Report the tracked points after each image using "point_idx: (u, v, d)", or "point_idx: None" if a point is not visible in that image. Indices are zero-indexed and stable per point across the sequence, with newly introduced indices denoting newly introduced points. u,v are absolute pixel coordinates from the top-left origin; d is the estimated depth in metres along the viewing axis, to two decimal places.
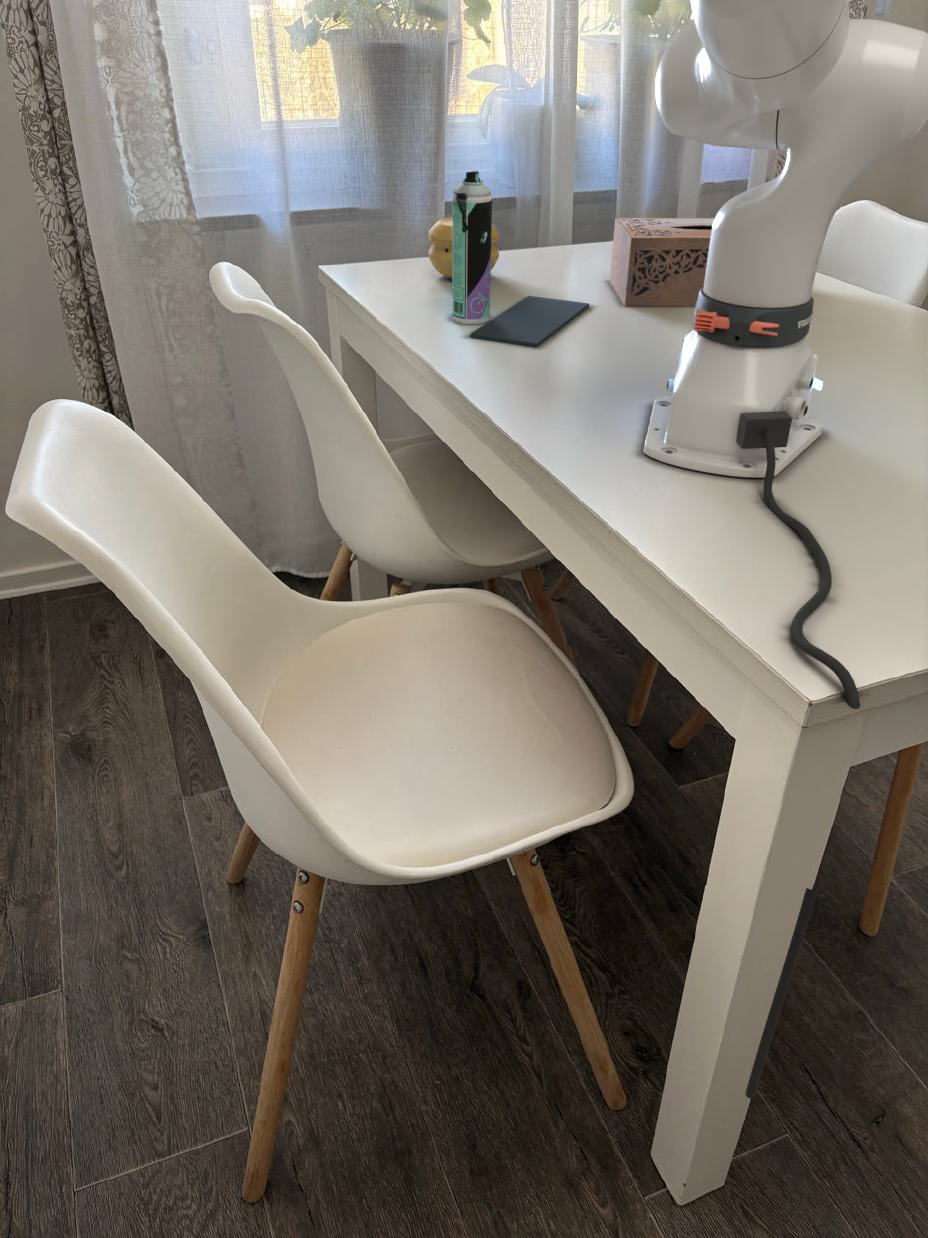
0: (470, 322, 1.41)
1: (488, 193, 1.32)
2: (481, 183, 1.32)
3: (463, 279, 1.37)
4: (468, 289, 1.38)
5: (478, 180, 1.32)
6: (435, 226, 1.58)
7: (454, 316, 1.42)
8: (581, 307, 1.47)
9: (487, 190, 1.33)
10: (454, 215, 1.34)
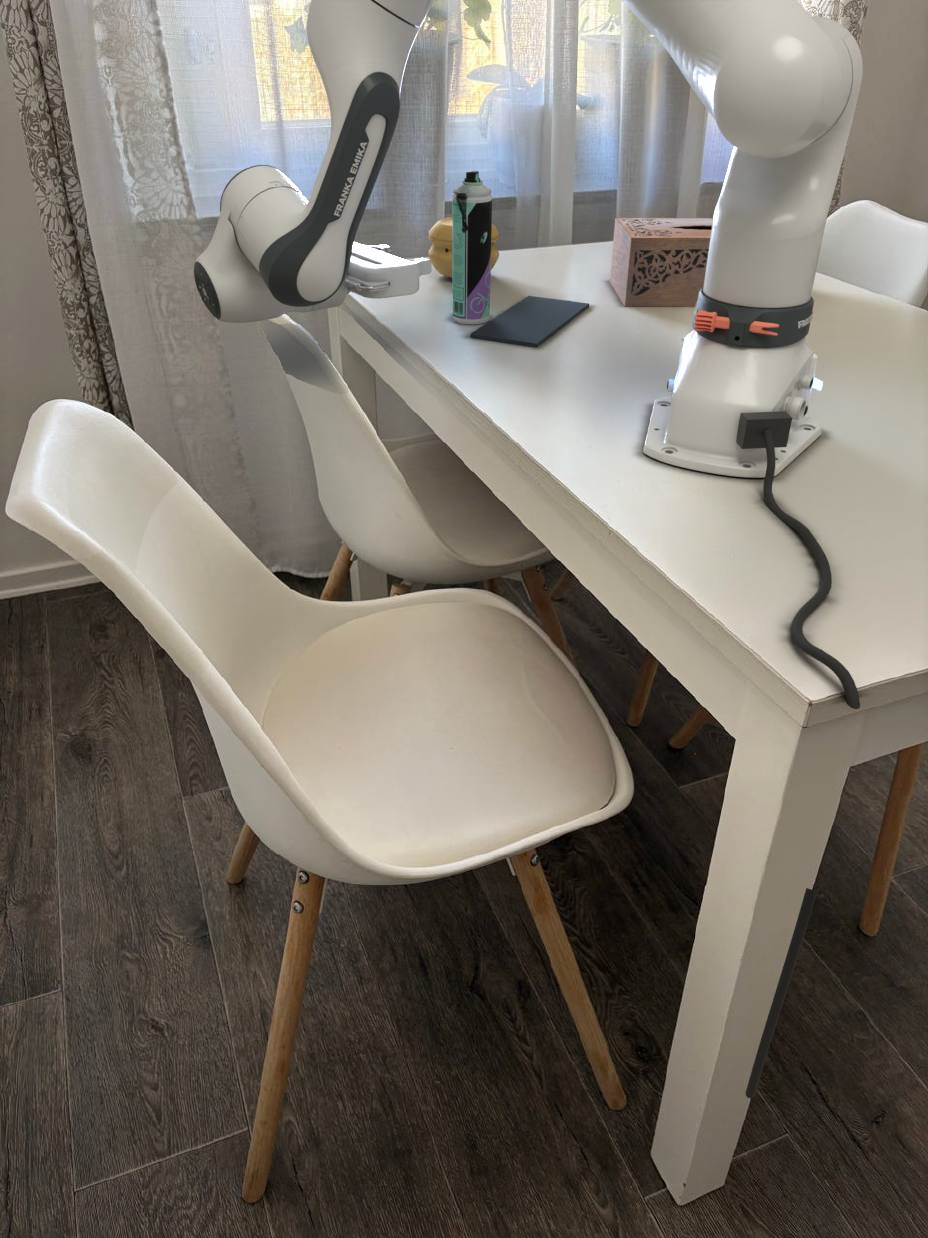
0: (470, 322, 1.41)
1: (488, 193, 1.32)
2: (481, 183, 1.32)
3: (463, 279, 1.37)
4: (468, 289, 1.38)
5: (478, 180, 1.32)
6: (435, 226, 1.58)
7: (454, 316, 1.42)
8: (581, 307, 1.47)
9: (487, 190, 1.33)
10: (454, 215, 1.34)
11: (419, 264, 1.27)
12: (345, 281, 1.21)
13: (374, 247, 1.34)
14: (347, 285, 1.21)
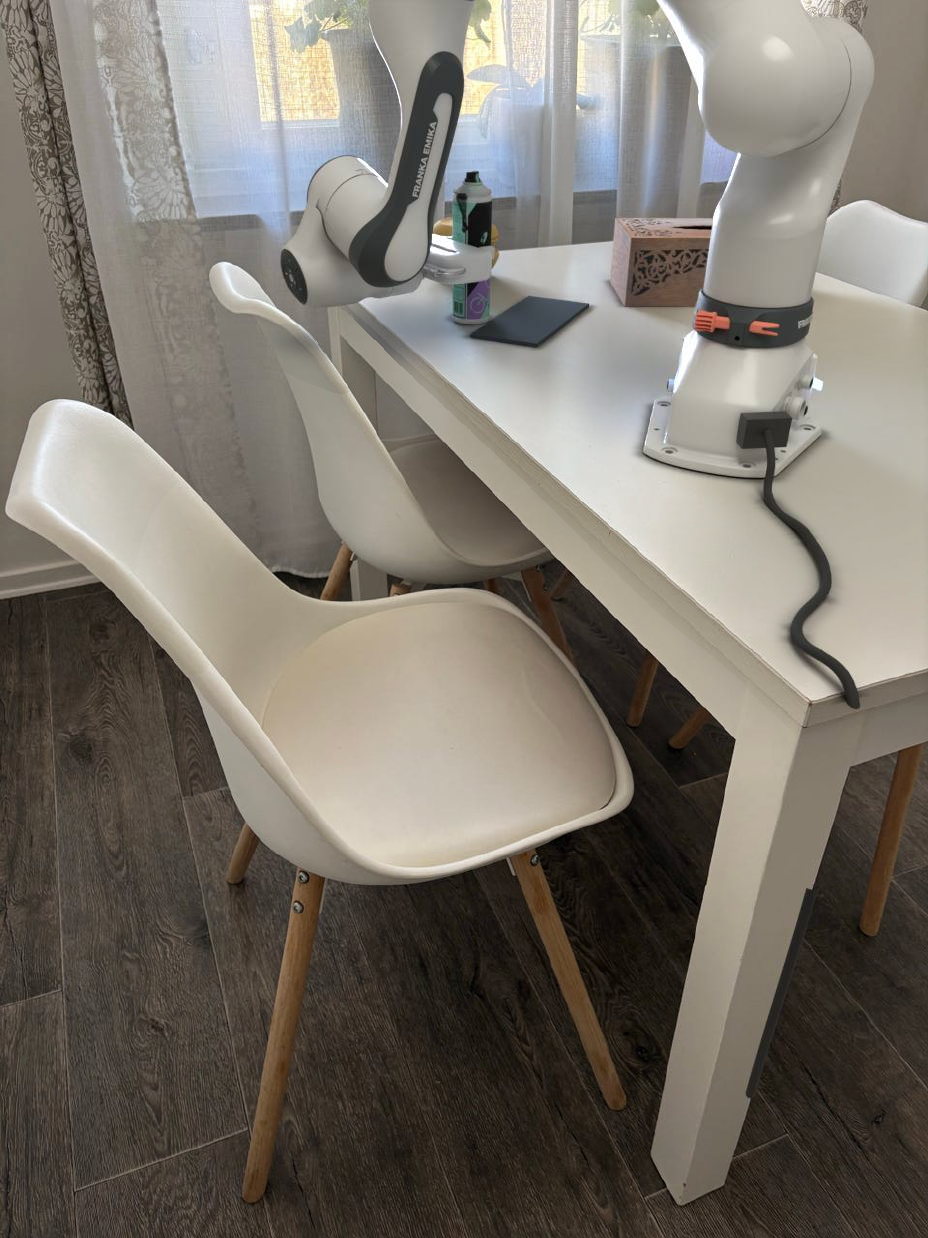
0: (470, 322, 1.41)
1: (488, 193, 1.32)
2: (481, 183, 1.32)
3: None
4: (467, 289, 1.38)
5: (478, 180, 1.32)
6: (435, 226, 1.58)
7: (454, 316, 1.42)
8: (581, 307, 1.47)
9: (487, 190, 1.33)
10: (454, 215, 1.34)
11: None
12: (422, 268, 1.27)
13: (448, 238, 1.39)
14: (424, 272, 1.27)
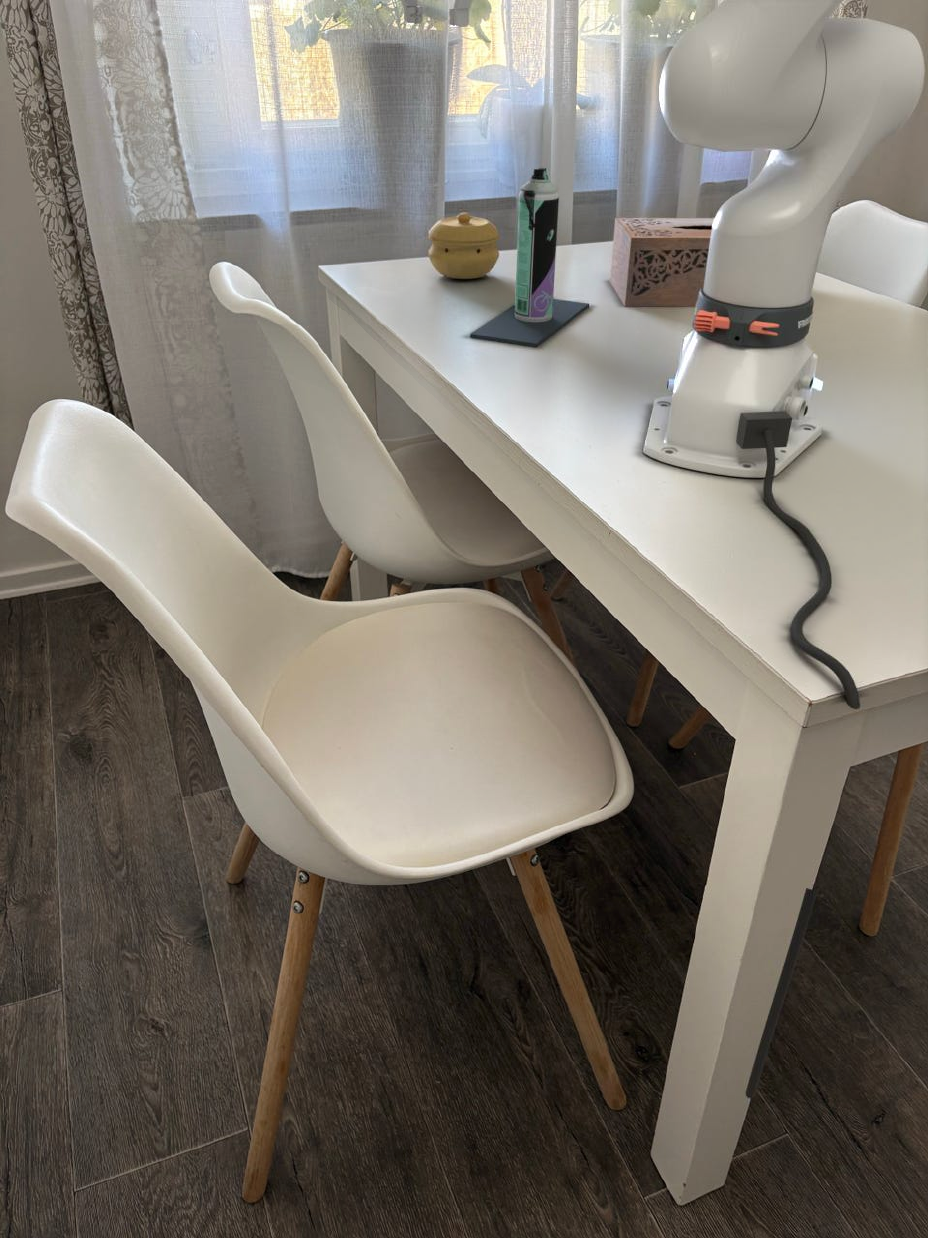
0: (533, 320, 1.40)
1: (556, 190, 1.32)
2: (549, 180, 1.32)
3: (528, 277, 1.37)
4: (532, 287, 1.37)
5: (546, 177, 1.31)
6: (435, 226, 1.58)
7: (517, 314, 1.41)
8: (581, 307, 1.47)
9: (555, 187, 1.32)
10: (521, 212, 1.33)
11: (468, 4, 1.12)
12: None
13: (416, 2, 1.20)
14: None
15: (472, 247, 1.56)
